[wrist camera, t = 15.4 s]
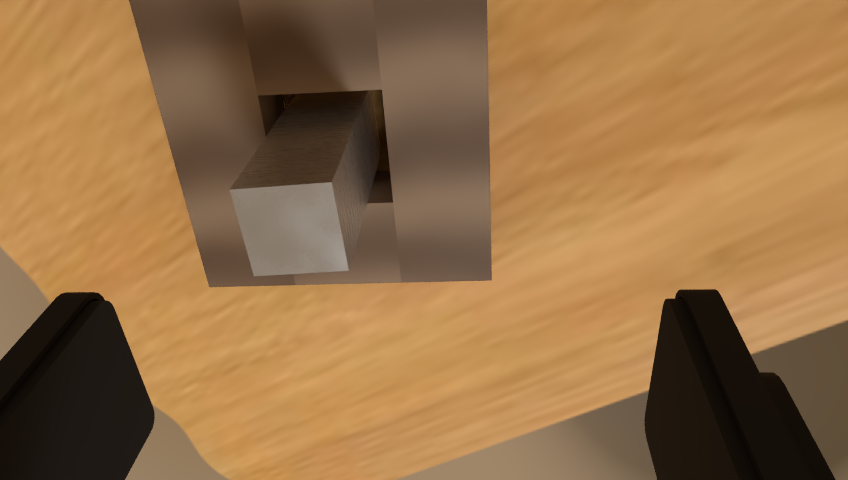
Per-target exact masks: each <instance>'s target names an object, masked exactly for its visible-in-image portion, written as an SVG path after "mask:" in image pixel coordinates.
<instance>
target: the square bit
mask: <svg viewBox="0 0 848 480" xmlns="http://www.w3.org/2000/svg"><path fill="white" fill-rule="evenodd" d="M380 156H381V148H380V142H379V135H378V128H377V122H376V115H375V108H374V101H373V95H372V90H364V91H343V92H322V93H301V94H295V95H294V97H293V98H292V99H291V101H290V102H289V104H288V105H287V107H286V108H285V110H284V111H283V113H282V114H281V115H280V117H279V118H278V120H277V121H276V123H275V124H274V126H273V127H272V129H271V130H270V131H269V133H268V134H267V136H266V137H265V139H264V140H263V142H262V143H261V145H260V146H259V147H258V149H257V150H256V152H255V153H254V155H253V156H252V158H251V159H250V161H249V162H248V163H247V165H246V166H245V168H244V169H243V171H242V172H241V174H240V175H239V177H238V178H237V179H236V181H235V182H234V184H233V185H232V187H231V188H230V193H231V197H232V201H233V204H234V208H235V211H236V215H237V218H238V222H239V225H240V229H241V232H242V236H243V239H244V243H245V246H246V250H247V254H248V257H249V261H250V264H251V268H252V271H253V275H254V276H268V275H285V274H302V273H319V272H335V271H349V269H350V265H351V261H352V258H353V254H354V250H355V247H356V243H357V239H358V236H359V232H360V229H361V225H362V221H363V218H364V214H365V210H366V207H367V203H368V200H369V196H370V192H371V189H372V185H373V181H374V178H375V174H376V171H377V167H378V163H379V160H380Z"/></svg>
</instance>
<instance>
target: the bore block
mask: <svg viewBox="0 0 848 480" xmlns="http://www.w3.org/2000/svg"><path fill="white" fill-rule="evenodd" d="M129 2H130V5H131V9H132V12H133V16H134V19H135V23H136V27H137V30H138V34H139V37H140V41H141V44H142V48H143V52H144V55H145V59H146V62H147V66H148V69H149V73H150V77H151V80H152V84H153V87H154V91H155V95H156V98H157V102H158V105H159V109H160V112H161V116H162V120H163V123H164V127H165V130H166V134H167V137H168V141H169V145H170V148H171V152H172V155H173V159H174V162H175V166H176V170H177V173H178V177H179V180H180V184H181V187H182V191H183V195H184V198H185V202H186V205H187V209H188V212H189V216H190V220H191V223H192V227H193V230H194V234H195V237H196V241H197V245H198V248H199V252H200V255H201V259H202V262H203V266H204V270H205V273H206V277H207V280H208V284H209V287H234V286H276V285H318V284H360V283H402V282H444V281H486V280H492V271H491V214H490V156H489V99H488V41H487V0H129ZM364 90H382V96H383V106H384V116H385V126H386V136H387V146H388V156H389V166H390V171H376V174H375V178H374V181H373V185H372V189H371V192H370V196H369V200H368V203H367V207H366V210H365V214H364V218H363V221H362V225H361V229H360V232H359V236H358V239H357V243H356V247H355V250H354V254H353V258H352V261H351V265H350V269H349V271H335V272H319V273H302V274H285V275H268V276H254V275H253V271H252V268H251V264H250V261H249V257H248V254H247V250H246V246H245V243H244V239H243V236H242V232H241V229H240V225H239V222H238V218H237V215H236V211H235V208H234V204H233V201H232V197H231V193H230V188H231V187H232V185H233V184H234V182H235V181H236V179H237V178H238V177H239V175H240V174H241V172H242V171H243V169H244V168H245V166H246V165H247V163H248V162H249V161H250V159H251V158H252V156H253V155H254V153H255V152H256V150H257V149H258V147H259V146H260V145H261V143H262V142H263V140H264V139H265V137H266V136H267V134H268V133H269V131H270V130H271V129H272V127H273V126H274V124H275V123H276V121H277V120H278V118H279V117H280V115H281V114H282V113H283V111H284V110H285V107H284V101H283V96H282V94H301V93H322V92H343V91H364Z"/></svg>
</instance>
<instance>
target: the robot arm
mask: <svg viewBox="0 0 848 480" xmlns="http://www.w3.org/2000/svg"><path fill="white" fill-rule="evenodd" d="M153 424H154V409H153V406H152V404H151V401H150V398H149V396H148V393H147V391H146V388H145V386H144V383H143V381H142V378H141V375H140V373H139V370H138V368H137V365H136V363H135V360H134V358H133V355H132V352H131V350H130V347H129V345H128V342H127V340H126V337H125V335H124V332H123V329H122V327H121V324H120V322H119V319H118V317H117V314H116V312H115V309H114V307H113V305H112V304H111V303H110V302H109V301H105V300H104V298H103V297H102V296H101V295H100V294H99V293H95V292H73V293H62V294H60V295H59V296H58V297H56V299H55V300H54V301H53V302H52V303H51V304H50V305H49V307H48V308H47V309H46V310H45V311H44V312H43V313H42V314H41V315H40V317H39V318H38V319H37V320H36V321H35V322H34V323H33V324H32V326H31V327H30V328H29V329H28V330H27V331H26V332H25V333H24V334H23V336H22V337H21V338H20V339H19V340H18V341H17V342H16V344H15V345H14V346H13V347H12V348H11V349H10V350H9V351H8V353H7V354H6V355H5V356H4V357H3V358H2V359H1V360H0V480H125V478H126V477H127V475H128V473H129V471H130V469H131V467H132V465H133V464H134V462H135V460H136V458H137V456H138V454H139V452H140V451H141V449H142V447H143V445H144V443H145V442H146V439H147V438H148V436H149V434H150V432H151V430H152V428H153ZM645 433H646V438H647V442H648V446H649V450H650V454H651V457H652V461H653V465H654V469H655V472H656V476H657V480H835V478H834V476H833V474H832V472H831V470H830V469H829V467H828V465H827V463H826V461H825V459H824V457H823V456H822V454H821V452H820V450H819V448H818V446H817V444H816V442H815V441H814V439H813V437H812V435H811V433H810V431H809V429H808V427H807V426H806V424H805V422H804V420H803V419H802V416H801V415H800V413H799V411H798V409H797V407H796V405H795V403H794V401H793V400H792V398H791V396H790V394H789V392H788V390H787V388H786V386H785V384H784V383H783V382H782V380H781V379H780V377H779V376H777V375H776V374H775V373H759V371H758V369H757V367H756V365H755V363H754V361H753V359H752V357H751V355H750V353H749V351H748V349H747V347H746V345H745V343H744V341H743V339H742V337H741V335H740V333H739V331H738V329H737V327H736V325H735V323H734V321H733V319H732V317H731V315H730V313H729V311H728V309H727V307H726V305H725V303H724V301H723V299H722V297H721V295H720V293H719V292H718V291H717V290H715V289H714V290H679V291H678V292H677V294H676V297H675V299H665V301H664V304H663V309H662V315H661V322H660V328H659V334H658V340H657V346H656V352H655V358H654V364H653V370H652V376H651V382H650V388H649V394H648V400H647V406H646V412H645Z"/></svg>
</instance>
